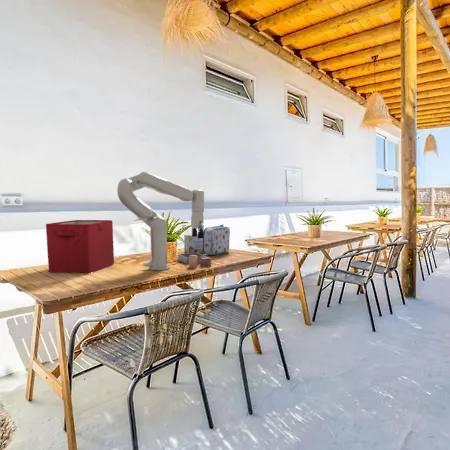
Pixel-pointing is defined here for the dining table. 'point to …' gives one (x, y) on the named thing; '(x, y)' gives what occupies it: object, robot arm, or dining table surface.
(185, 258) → the tote
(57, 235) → the storage cube
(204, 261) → the walnut cube
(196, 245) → the snack box
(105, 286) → the dining table surface
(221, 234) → the lunch box
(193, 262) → the terracotta cylinder
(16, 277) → the dining table surface
